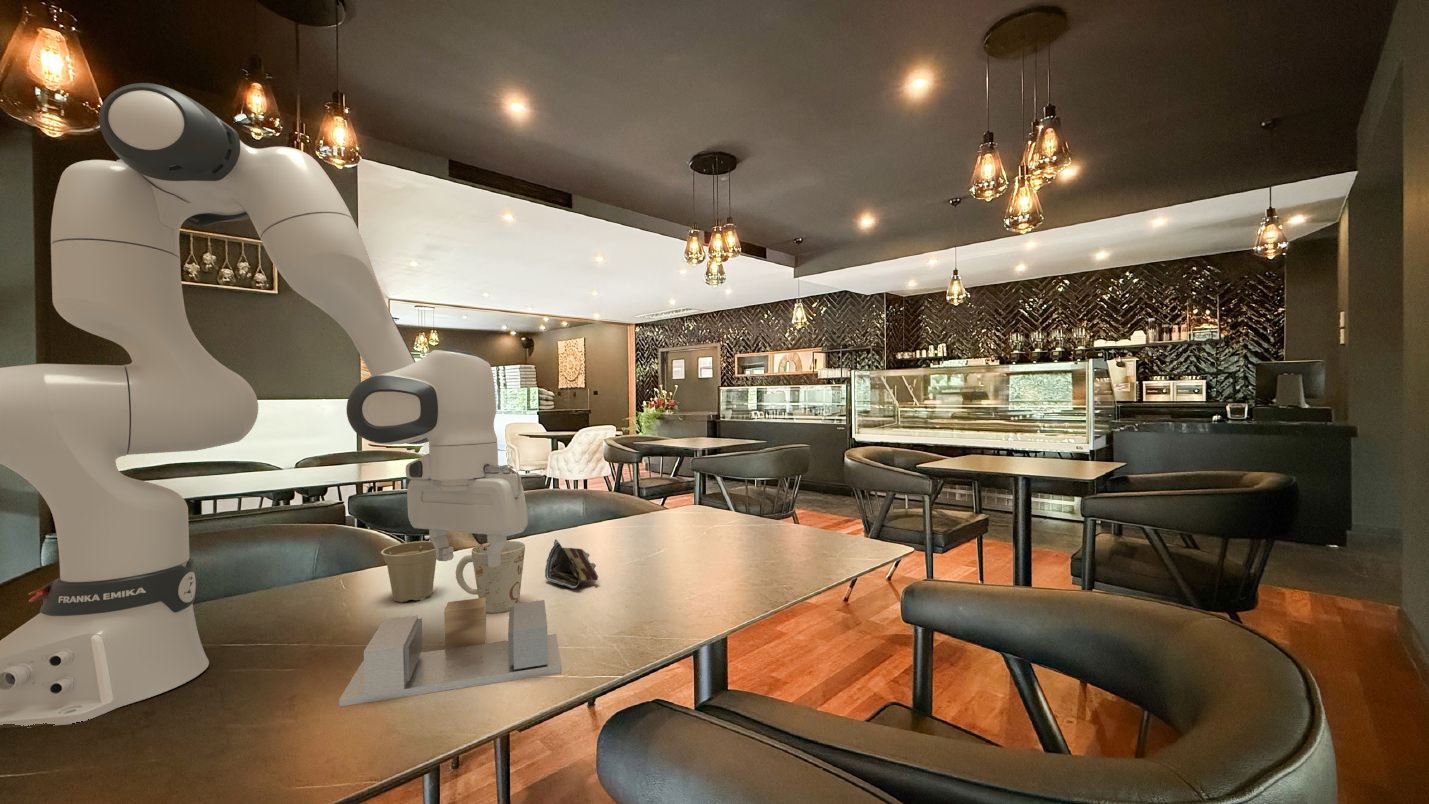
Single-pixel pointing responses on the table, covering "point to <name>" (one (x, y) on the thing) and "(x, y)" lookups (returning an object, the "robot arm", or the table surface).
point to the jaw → (528, 635)
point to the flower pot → (411, 569)
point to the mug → (495, 576)
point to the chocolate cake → (569, 566)
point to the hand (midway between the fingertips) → (467, 563)
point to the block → (465, 623)
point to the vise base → (432, 665)
